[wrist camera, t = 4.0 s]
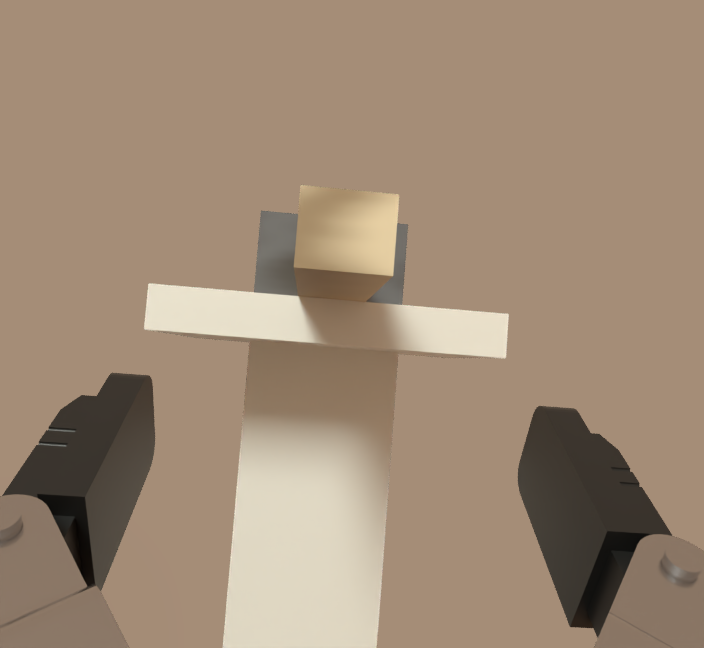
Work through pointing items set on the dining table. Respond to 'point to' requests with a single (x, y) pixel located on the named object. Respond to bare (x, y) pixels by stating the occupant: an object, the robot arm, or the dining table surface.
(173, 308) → the stand
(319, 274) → the grey and beige blocks
